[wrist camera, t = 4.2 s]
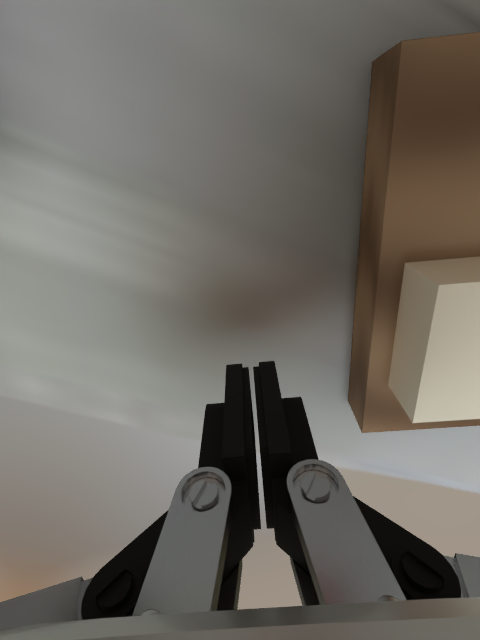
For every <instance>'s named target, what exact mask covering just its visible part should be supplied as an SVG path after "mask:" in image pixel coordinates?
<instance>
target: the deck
mask: <svg viewBox="0 0 480 640" xmlns="http://www.w3.org/2000/svg"><path fill="white" fill-rule="evenodd" d="M479 256H480V32H475V33H466V34H457V35H448V36H440V37H431V38H422V39H413V40H404V41H401V42H400V43H398V44H397V45H395V46H394V47H393V48H391V49H390V50H388V51H387V52H386V53H384V54H383V55H381V56H380V57H379V58H377V59H376V60H374V61H373V62H372V73H371V87H370V101H369V115H368V129H367V143H366V157H365V171H364V185H363V199H362V213H361V227H360V241H359V255H358V269H357V283H356V297H355V311H354V325H353V339H352V353H351V367H350V380H349V394H348V402H349V404H350V406H351V409H352V411H353V413H354V415H355V418H356V420H357V422H358V425H359V427H360V429H361V431H362V433H368V432H384V431H399V430H415V429H430V428H446V427H462V426H477V425H480V419H469V420H454V421H438V422H423V423H412V421H411V420H410V418H409V417H408V415H407V414H406V412H405V410H404V409H403V407H402V406H401V404H400V403H399V401H398V400H397V398H396V396H395V395H394V393H393V392H392V390H391V389H390V387H389V386H388V382H389V375H390V368H391V360H392V353H393V346H394V338H395V331H396V324H397V316H398V309H399V302H400V295H401V287H402V280H403V273H404V265H405V263H409V262H421V261H432V260H444V259H456V258H467V257H479Z"/></svg>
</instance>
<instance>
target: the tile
mask: <svg viewBox="0 0 480 640" xmlns="http://www.w3.org/2000/svg"><path fill="white" fill-rule="evenodd" d="M388 386H389V387H390V389H391V390H392V392H393V393H394V395H395V396H396V398H397V400H398V401H399V403H400V404H401V406H402V407H403V409H404V410H405V412H406V414H407V415H408V417H409V418H410V420H411V421H412V423H423V422H438V421H454V420H469V419H480V256H479V257H467V258H456V259H444V260H432V261H421V262H409V263H405V265H404V273H403V280H402V287H401V295H400V302H399V309H398V316H397V324H396V331H395V338H394V346H393V353H392V360H391V368H390V375H389V382H388Z"/></svg>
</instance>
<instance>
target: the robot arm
mask: <svg viewBox="0 0 480 640" xmlns="http://www.w3.org/2000/svg"><path fill="white" fill-rule="evenodd" d="M253 370H254V382H255V394H256V407H257V419H258V431H259V443H260V455H261V466H262V478H263V490H264V501H265V511H266V523H267V528H274V530H275V540H276V544H277V545H278V546H279V547H280V548H281V549H282V550H283V551H284V552H286V553H287V554H288V555H289V556H290V561H291V566H292V570H293V573H294V577H295V580H296V584H297V588H298V591H299V595H300V598H301V602H302V606H293V607H277V608H259V609H242V610H237V608H238V600H239V591H240V583H241V574H242V558H243V557H244V556H245V555H246V554H247V553H248V551H249V550H250V549H251V548H252V546H253V542H254V529H261V523H260V508H259V493H258V478H257V463H256V448H255V433H254V421H253V411H252V400H251V390H250V379H249V369H248V367H246V368H242V364H232V365H227V366H226V385H225V403H217V404H207V405H206V410H205V418H204V426H203V434H202V442H201V450H200V458H199V466H198V469H195V470H193V471H191V472H190V473H188V474H187V475H185V476H184V477H183V479H182V480H181V481H180V483H179V484H178V486H177V488H176V491H175V494H174V496H173V499H172V502H171V505H170V508H169V510H168V511H167V512H166V513H164V514H163V515H162V516H161V517H160V518H159V519H158V520H156V521H155V522H154V523H153V524H152V525H151V526H149V527H148V528H147V529H146V530H145V531H144V532H143V533H141V534H140V535H139V536H138V537H137V538H136V539H135V540H133V541H132V542H131V543H130V544H129V545H128V546H126V547H125V548H124V549H123V550H122V551H121V552H120V553H118V554H117V555H116V556H115V557H114V558H113V559H112V560H110V561H109V562H108V563H107V564H106V565H105V566H104V567H102V568H101V569H100V571H99V572H98V573H97V574H96V575H95V576H94V577H93V578H91V579H88V580H83V578H82V577H79V578H76V579H73V580H70V581H66V582H63V583H60V584H57V585H54V586H51V587H48V588H45V589H41V590H38V591H35V592H32V593H29V594H26V595H22V596H19V597H16V598H13V599H10V600H7V601H3V602H0V640H480V557H474V556H469V555H463V554H457V553H455V556H454V558H453V557H448V556H443V555H442V554H441V553H439V552H438V551H437V550H436V549H434V548H433V547H432V546H430V545H429V544H427V543H426V542H424V541H422V540H421V539H419V538H417V537H416V536H414V535H413V534H411V533H410V532H408V531H407V530H405V529H404V528H402V527H401V526H399V525H397V524H396V523H394V522H393V521H391V520H389V519H388V518H386V517H385V516H383V515H382V514H380V513H379V512H377V511H376V510H374V509H372V508H371V507H369V506H368V505H366V504H365V503H363V502H361V501H360V500H358V499H357V498H355V497H354V496H352V494H351V492H350V490H349V488H348V486H347V484H346V482H345V480H344V478H343V476H342V475H341V474H340V472H339V471H338V470H337V469H336V468H335V467H334V466H332V465H331V464H329V463H327V462H324V461H322V460H318V456H317V453H316V449H315V445H314V442H313V438H312V434H311V431H310V427H309V424H308V420H307V416H306V413H305V409H304V405H303V402H302V399H301V397H294V398H281V393H280V388H279V383H278V377H277V372H276V367H275V362H274V361H268V362H259V366H258V367H253Z"/></svg>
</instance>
